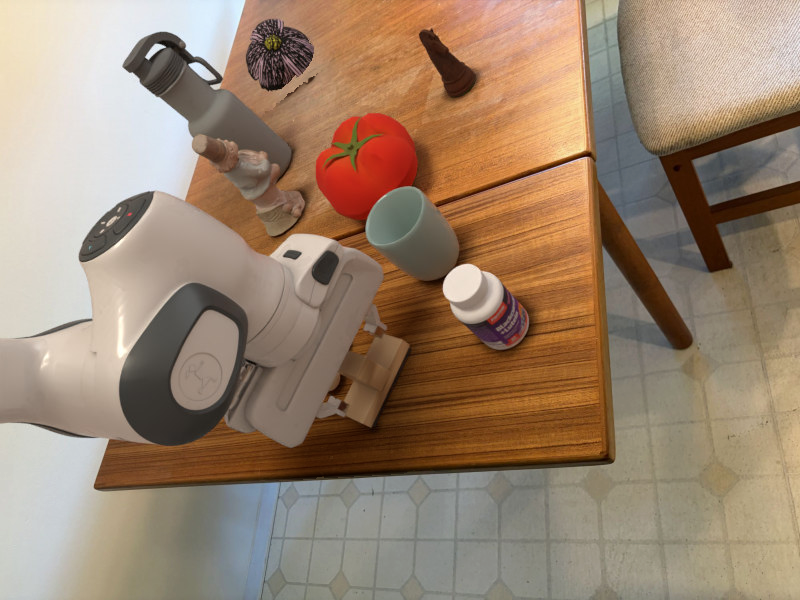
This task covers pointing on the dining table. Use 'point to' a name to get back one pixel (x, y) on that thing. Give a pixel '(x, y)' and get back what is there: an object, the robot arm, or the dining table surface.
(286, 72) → the decorative flower
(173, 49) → the water bottle
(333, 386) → the crumb
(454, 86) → the chess piece
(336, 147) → the tomato
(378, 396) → the brush
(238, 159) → the figurine
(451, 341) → the dining table surface
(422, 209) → the cup
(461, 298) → the pill bottle
